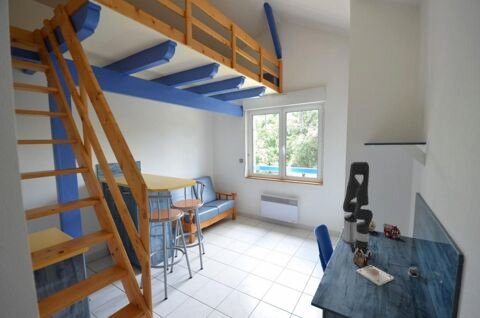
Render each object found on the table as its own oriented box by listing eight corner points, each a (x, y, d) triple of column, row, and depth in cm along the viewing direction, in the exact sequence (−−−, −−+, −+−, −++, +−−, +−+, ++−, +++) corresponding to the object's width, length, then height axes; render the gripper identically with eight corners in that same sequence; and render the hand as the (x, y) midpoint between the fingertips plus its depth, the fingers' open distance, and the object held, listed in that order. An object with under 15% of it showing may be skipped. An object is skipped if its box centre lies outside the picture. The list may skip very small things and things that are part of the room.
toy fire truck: (399, 240, 176) (400, 228, 175) (382, 235, 184) (382, 224, 184) (400, 237, 181) (401, 226, 180) (383, 233, 189) (384, 222, 189)
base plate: (356, 271, 132) (356, 267, 132) (370, 266, 138) (371, 261, 138) (379, 285, 120) (379, 280, 120) (393, 279, 126) (394, 274, 125)
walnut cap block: (353, 262, 143) (353, 253, 143) (359, 260, 146) (359, 252, 145) (361, 267, 138) (362, 258, 137) (367, 264, 140) (368, 256, 140)
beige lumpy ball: (361, 231, 193) (362, 220, 192) (363, 227, 202) (364, 216, 201) (374, 234, 187) (375, 222, 186) (375, 230, 196) (376, 219, 195)
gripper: (348, 235, 145) (347, 258, 146) (368, 244, 132) (367, 269, 133) (355, 233, 148) (354, 256, 150) (376, 242, 135) (374, 267, 137)
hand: (360, 262), depth 142 cm, fingers closed on walnut cap block, 6 cm apart
